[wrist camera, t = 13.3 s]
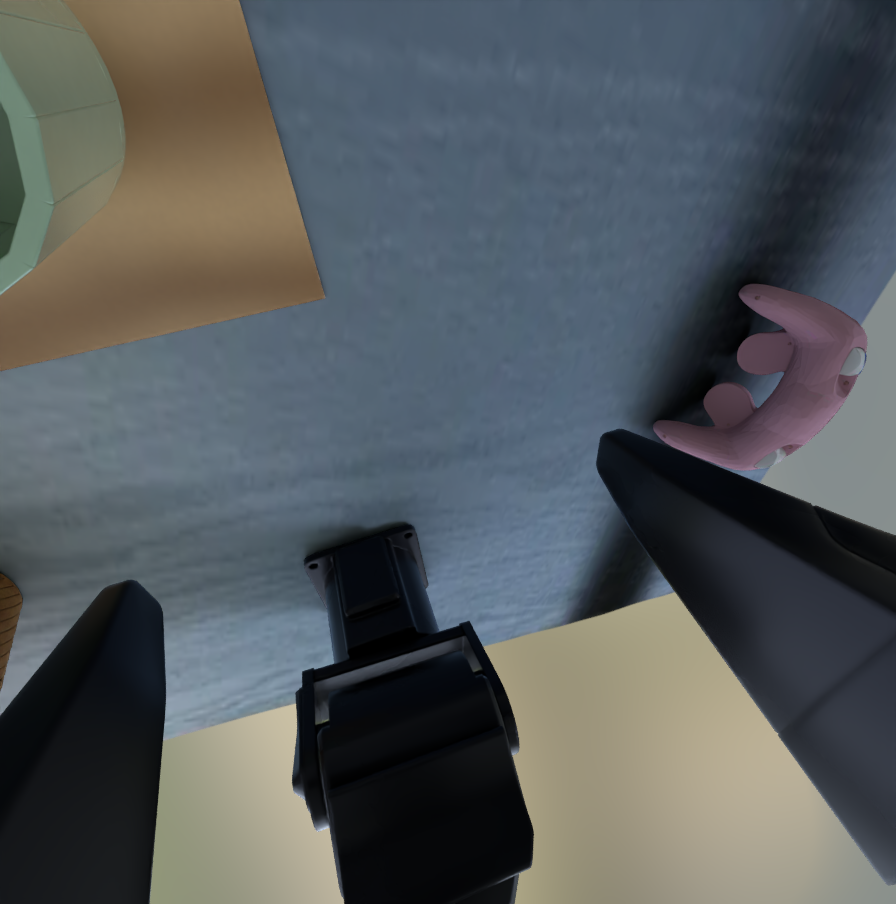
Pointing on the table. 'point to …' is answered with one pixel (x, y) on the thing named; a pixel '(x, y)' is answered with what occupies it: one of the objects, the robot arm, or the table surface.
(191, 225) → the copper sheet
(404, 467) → the table surface
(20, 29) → the glazed cup
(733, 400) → the video game controller
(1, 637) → the disposable coffee cup
